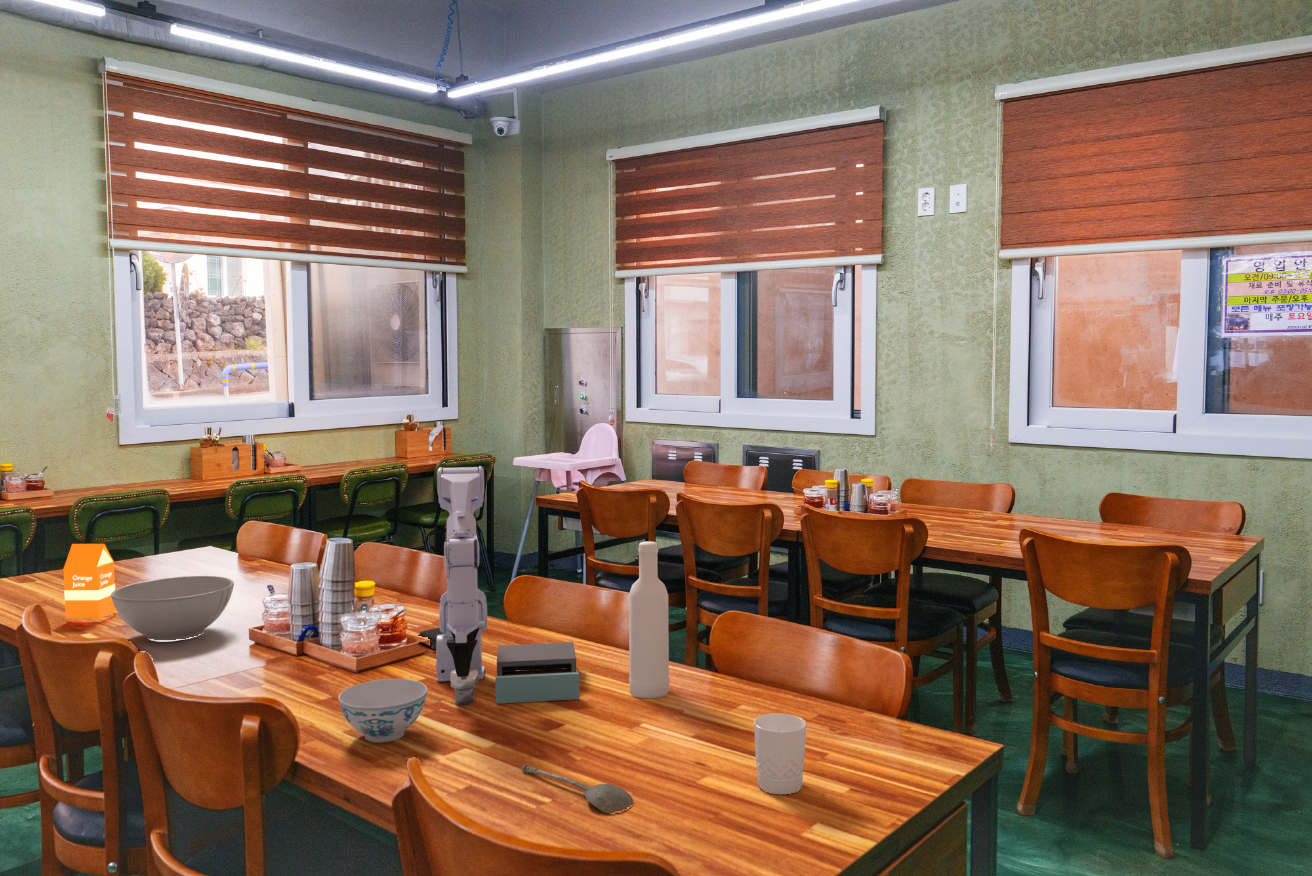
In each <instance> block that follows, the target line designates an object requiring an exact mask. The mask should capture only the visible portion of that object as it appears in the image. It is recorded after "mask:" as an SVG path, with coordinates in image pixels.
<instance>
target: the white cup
mask: <svg viewBox="0 0 1312 876" xmlns="http://www.w3.org/2000/svg"><path fill="white" fill-rule="evenodd" d="M753 728H754V751H755V767H756V777H757V778H756V779H757V786H758V785H759V786H758V788H759V787H760V788H762V789H763V790H765V791H767V792H771V793H774V794H789V795H791V794H790V793H794V794H796V793H798V792H799V791H798V790H800V789H802V788H801V787H803V779H804V778H803V777H804V776H803V775H804V767H805V755H806V754H805V753H806V737H807V736H806V733H807V722H806V720H805V719H803V718H802V717H800V716H797V715H793V714H789V713H788V714H787V713H777V712H776V713H774V712H773V713H767V714H762V715H759V716H757V717H756V718H754V720H753ZM760 788H759V789H760ZM763 790H762V791H763ZM797 791H798V792H797ZM800 791H801V790H800ZM767 792H766V793H767ZM795 792H796V793H795ZM774 794H773V795H774Z"/></svg>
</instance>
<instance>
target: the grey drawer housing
mask: <svg viewBox="0 0 1312 876" xmlns="http://www.w3.org/2000/svg"><path fill="white" fill-rule="evenodd" d="M575 649H576V648H575V645H574V642H573V641H570V642H569V641H567V642H564V641H562V642H546V643H545V642H544V643H543V642H542V643H524V644H523V643H521V644H518V643H517V644H504V645H503V644H501V645H500V644H499V645H498V646H497V655H496V676H504V673H507V672H509V671H511V672H517V671H516V670H531V671H546V670H548V671H550V670H566V669H567V670H568V672H569V673H573V672H578V671H577V670H578V669H577V655H576V651H575ZM509 673H510V672H509Z"/></svg>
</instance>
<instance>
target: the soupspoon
mask: <svg viewBox="0 0 1312 876" xmlns="http://www.w3.org/2000/svg"><path fill="white" fill-rule="evenodd" d="M521 772H522V774H535V775H542V776H545V777H549V778H551V779H555V780H557V781H560V782H563V783H566V784H569V785H572V786H574V787H576V788H579V789H580V790H583V791H584V793H583V795H584V797H585V799H586V800H587V801H588V803H589V804H590V805H592V806H594V807H595V808H596V809H597V810H600V812H602V813H605V814H608V813H613V812H615V811H622V810H623V809H627V807H630V805H632V803H633V801H634V798H633V797H632V795H631V794H630V793H629V792H628V791H627V790H625V789H624V788H622V787H621V786H618V785H615V784H610V783H600V784H595V785H593V786H589V785H587V784H584V783H583V782H582V783H581V782H579V781H577V780H574V779H571V778H568V777H565V776H561V775H559V774H555V773H551V772H548V771H546V770H545V771H544V770H540V768H537V767H532V766H531V765H530V764H529V763H525V764H524V765H522V767H521Z"/></svg>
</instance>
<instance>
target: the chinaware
mask: <svg viewBox="0 0 1312 876" xmlns="http://www.w3.org/2000/svg"><path fill="white" fill-rule="evenodd" d="M427 696H428V687H427V685H426V684H424V683H423V682H420V681H419V680H418V681H417V680H414V679H409V678H408V679H404V678H386V679H384V678H383V679H375V680H370V681H365V682H362V683H358V684H355V685H354V684H353V685H352V686H349V687H347V688H345V689H343V691H342V692H339V694H338V704H339V707H340V709H341V712H342V714H343V717H344V719H345V720H346V722H347V723H348V724H349V725H350V726H351V727H352V728H353V729H354V730H355V731H357V732H358V733H360V734H363V735H364V739H365V740H367V741H369V742H371V743H388V742H392V741H396V740H399V739H400V738H402V737H403V736H404V735H405V731H406V730H407V729H408V728H409V727H411V726H412V725H413V724H414V723H415V721H416V720H417V719H418V718H419V716H420V715H421V713H422V711H423V709H424V706H425V704H426V699H427Z"/></svg>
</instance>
